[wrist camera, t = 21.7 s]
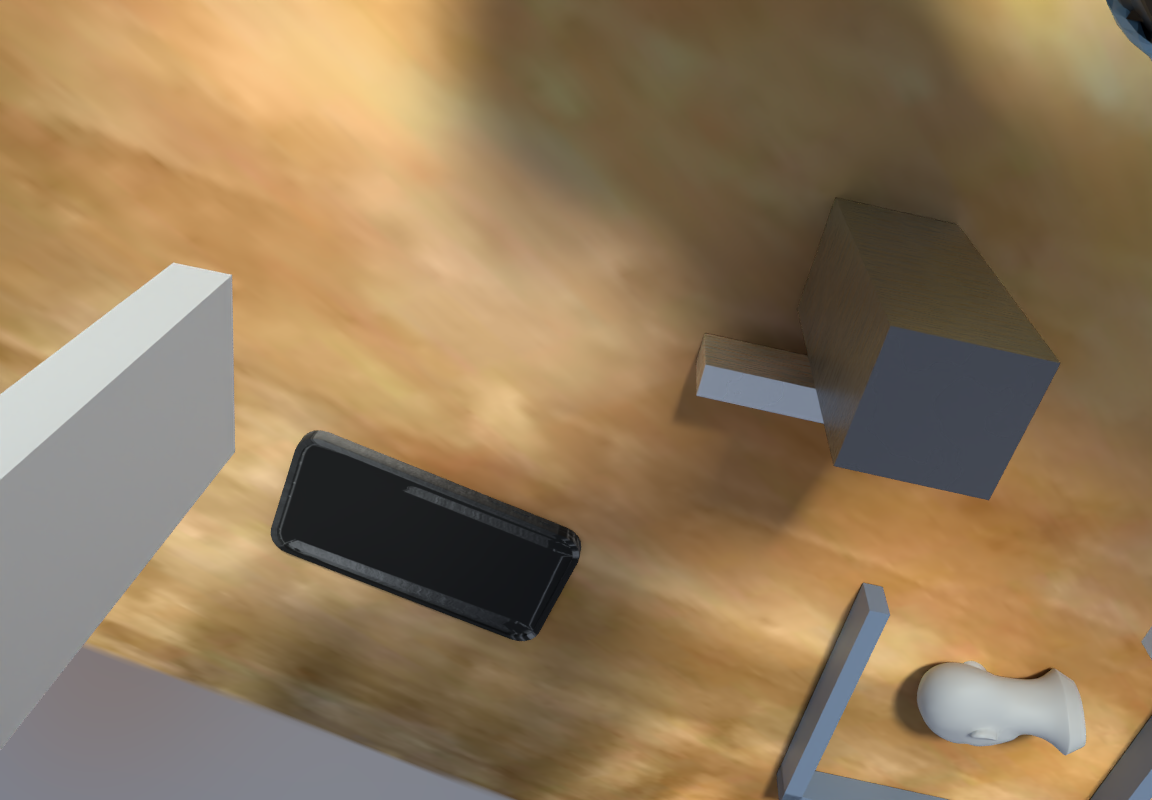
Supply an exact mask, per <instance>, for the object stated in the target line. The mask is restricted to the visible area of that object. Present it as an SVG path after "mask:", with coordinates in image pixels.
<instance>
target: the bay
mask: <svg viewBox="0 0 1152 800" xmlns="http://www.w3.org/2000/svg"><path fill="white" fill-rule="evenodd" d="M889 616H890V613H889V609H888V605H887V601H886V597H885V594H884V590H883V587H881V586H876V585H871V584H867V583H863V584H862V586H861V589H860V591H859V593H858V595H857V598H856V600H855V602H854V604H853V606H852V609H851V611H850V613H849V615H848V617H847V620H846V622H845V624H844V626H843V629H842V631H841V633H840V635H839V637H838V640H837V642H836V644H835V646H834V649H833V651H832V653H831V655H830V657H829V660H828V662H827V664H826V666H825V668H824V671H823V673H822V675H821V677H820V680H819V682H818V684H817V686H816V688H815V691H814V693H813V695H812V697H811V700H810V702H809V704H808V706H807V708H806V711H805V713H804V715H803V717H802V720H801V722H800V724H799V726H798V728H797V731H796V733H795V735H794V737H793V739H792V742H791V744H790V746H789V748H788V751H787V753H786V755H785V757H784V759H783V762H782V764H781V766H780V768H779V771H778V773H777V785H778V795H779V800H948V799H943V798H939V797H934V796H930V795H925V794H920V793H916V792H911V791H906V790H902V789H897V788H892V787H888V786H883V785H878V784H874V783H869V782H865V781H860V780H855V779H851V778H846V777H841V776H837V775H832V774H827V773H823V772H818V771H815V770H816V767H817V765H818V763H819V761H820V759H821V757H822V755H823V753H824V751H825V749H826V747H827V745H828V743H829V740H830V738H831V736H832V734H833V732H834V730H835V728H836V726H837V724H838V722H839V720H840V718H841V716H842V714H843V711H844V709H845V707H846V705H847V703H848V701H849V699H850V697H851V695H852V693H853V691H854V689H855V687H856V684H857V682H858V680H859V678H860V676H861V674H862V672H863V670H864V668H865V666H866V664H867V662H868V660H869V657H870V655H871V653H872V651H873V649H874V647H875V645H876V643H877V641H878V639H879V637H880V635H881V633H882V630H883V628H884V626H885V624H886V622H887V620H888V618H889ZM1151 798H1152V716H1151V718H1150V719H1149V720H1148V722H1147V723H1146V724H1145V726H1144V727H1143V729H1142V730H1141V731H1140V733H1139V734H1138V735H1137V737H1136V738H1135V739H1134V741H1133V742H1132V744H1131V745H1130V746H1129V748H1128V749H1127V750H1126V752H1125V753H1124V754H1123V756H1122V757H1121V759H1120V760H1119V761H1118V763H1117V764H1116V765H1115V767H1114V768H1113V769H1112V771H1111V772H1110V774H1109V775H1108V776H1107V778H1106V779H1105V780H1104V782H1103V783H1102V784H1101V786H1100V787H1099V789H1098V790H1097V791H1096V793H1095V794H1094V795H1093V797H1092V798H1091V799H1090V800H1150V799H1151Z"/></svg>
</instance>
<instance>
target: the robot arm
mask: <svg viewBox="0 0 1152 800" xmlns="http://www.w3.org/2000/svg"><path fill="white" fill-rule="evenodd" d="M1106 1H1107V4H1108V6H1109V8H1110V10H1111V12H1112V15H1113V17H1114V19H1115V21H1116V23H1117V25H1118V26H1119V28H1120V29H1121V30H1122V32H1123V33H1124V34H1125V35H1126V37H1127V38H1128V39H1129V40H1130V42H1132V43H1133V44H1134V45H1135V46H1137V47H1138V48H1139V49H1140V50H1142V51H1143V52H1144V53H1145V54H1147V55H1148V56H1149V57H1150V59H1151V61H1152V0H1106ZM234 452H235V422H234V364H233V305H232V275H230V274H225V273H220V272H215V271H210V270H206V269H201V268H196V267H191V266H186V265H182V264H177V263H172V264H171V265H170V266H168V267H167V268H166V269H164V270H163V271H162V272H161V273H159V274H158V275H157V276H155V277H154V278H153V279H151V280H150V281H149V282H147V283H146V284H145V285H143V286H142V287H141V288H140V289H138V290H137V291H136V292H134V293H133V294H132V295H130V296H129V297H128V298H126V299H125V300H124V301H122V302H121V303H120V304H118V305H117V306H116V307H115V308H113V309H112V310H111V311H109V312H108V313H107V314H105V315H104V316H103V317H101V318H100V319H99V320H97V321H96V322H95V323H93V324H92V325H91V326H90V327H88V328H87V329H86V330H84V331H83V332H82V333H80V334H79V335H78V336H76V337H75V338H74V339H72V340H71V341H70V342H69V343H67V344H66V345H65V346H63V347H62V348H61V349H59V350H58V351H57V352H55V353H54V354H53V355H51V356H50V357H49V358H47V359H46V360H45V361H44V362H42V363H41V364H40V365H38V366H37V367H36V368H34V369H33V370H32V371H30V372H29V373H28V374H26V375H25V376H24V377H23V378H21V379H20V380H19V381H17V382H16V383H15V384H13V385H12V386H11V387H9V388H8V389H7V390H5V391H4V392H3V393H1V394H0V750H1V749H2V748H3V746H4V745H5V744H6V743H7V741H8V740H9V739H10V737H11V736H12V735H13V734H14V732H15V731H16V730H17V729H18V727H19V726H20V725H21V724H22V722H23V721H24V720H25V719H26V717H27V716H28V715H29V713H30V712H31V711H32V710H33V708H34V707H35V706H36V705H37V703H38V702H39V701H40V699H41V698H42V697H43V696H44V694H45V693H46V692H47V690H48V689H49V688H50V687H51V685H52V684H53V683H54V682H55V680H56V679H57V678H58V676H59V675H60V674H61V673H62V671H63V670H64V669H65V668H66V666H67V665H68V664H69V662H70V661H71V660H72V659H73V657H74V656H75V654H76V653H77V652H78V651H79V650H80V648H81V647H82V646H83V645H84V643H85V642H86V641H87V640H88V638H89V637H90V636H91V634H92V633H93V632H94V631H95V629H96V628H97V627H98V626H99V624H100V623H101V622H102V620H103V619H104V618H105V617H106V615H107V614H108V613H109V612H110V610H111V609H112V608H113V606H114V605H115V604H116V603H117V601H118V600H119V599H120V598H121V596H122V595H123V594H124V592H125V591H126V590H127V589H128V587H129V586H130V585H131V584H132V582H133V581H134V580H135V578H136V577H137V576H138V575H139V573H140V572H141V571H142V569H143V568H144V567H145V566H146V564H147V563H148V562H149V561H150V559H151V558H152V557H153V555H154V554H155V553H156V552H157V550H158V549H159V548H160V547H161V545H162V544H163V543H164V541H165V540H166V539H167V538H168V536H169V535H170V534H171V533H172V531H173V530H174V529H175V527H176V526H177V525H178V524H179V522H180V521H181V520H182V519H183V517H184V516H185V515H186V513H187V512H188V511H189V510H190V508H191V507H192V506H193V505H194V503H195V502H196V501H197V499H198V498H199V497H200V496H201V494H202V493H203V492H204V491H205V489H206V488H207V487H208V485H209V484H210V483H211V482H212V480H213V479H214V478H215V477H216V475H217V474H218V473H219V471H220V470H221V469H222V468H223V466H224V465H225V464H226V463H227V461H228V460H229V459H230V457H231V456H232V455H233V454H234ZM1142 644H1143V646H1144V647H1145V649H1146V651H1147V653H1148V654H1149V656H1150V658H1151V659H1152V627H1151V628H1150V630H1149V631H1148V633H1147V634H1146V636H1145V637H1144V639H1143V640H1142Z"/></svg>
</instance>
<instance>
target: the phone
mask: <svg viewBox="0 0 1152 800" xmlns="http://www.w3.org/2000/svg"><path fill="white" fill-rule="evenodd" d="M271 537H272V540H273V542H274V543H275V545H276V546H277V547H279V548H280V549H281V550H283V551H285V552H287V553H289V554H291V555H294V556H297V557H299V558H302V559H304V560H307V561H310V562H312V563H315V564H317V565H320V566H323V567H325V568H328V569H330V570H333V571H336V572H338V573H341V574H343V575H346V576H349V577H351V578H354V579H356V580H359V581H361V582H364V583H367V584H369V585H372V586H374V587H377V588H380V589H382V590H385V591H387V592H390V593H393V594H395V595H398V596H400V597H403V598H406V599H408V600H411V601H413V602H416V603H419V604H421V605H424V606H426V607H429V608H432V609H434V610H437V611H439V612H442V613H445V614H447V615H450V616H452V617H455V618H457V619H460V620H463V621H465V622H468V623H470V624H473V625H476V626H478V627H481V628H483V629H486V630H489V631H491V632H494V633H496V634H499V635H502V636H504V637H507V638H509V639H512V640H516V641H527V640H531V639H532V638H534V637H536V636H537V634H538V633H539V632H540V630H541V628H542V626H543V624H544V623H545V621H546V619H547V617H548V615H549V613H550V612H551V610H552V608H553V606H554V604H555V603H556V601H557V599H558V597H559V595H560V594H561V592H562V590H563V588H564V586H565V584H566V583H567V581H568V579H569V577H570V575H571V574H572V572H573V570H574V568H575V566H576V565H577V563H578V560H579V557H580V551H581V541H580V539H579V537H578V536H577V535H576V534H575V533H574V532H573V531H572V530H570V529H568V528H566V527H564V526H561V525H559V524H556V523H554V522H551V521H549V520H546V519H544V518H541V517H539V516H536V515H534V514H531V513H529V512H526V511H524V510H521V509H519V508H516V507H514V506H511V505H509V504H506V503H504V502H501V501H499V500H496V499H494V498H491V497H489V496H486V495H484V494H481V493H479V492H476V491H474V490H471V489H469V488H466V487H464V486H461V485H459V484H456V483H454V482H451V481H449V480H446V479H444V478H441V477H439V476H436V475H434V474H431V473H429V472H426V471H424V470H421V469H419V468H416V467H414V466H411V465H409V464H406V463H404V462H401V461H399V460H396V459H394V458H391V457H389V456H386V455H384V454H381V453H379V452H376V451H374V450H371V449H369V448H366V447H364V446H361V445H359V444H356V443H354V442H351V441H349V440H347V439H344V438H342V437H339V436H337V435H334V434H332V433H329V432H325V431H312V432H309V433H307V434H306V435H305V436H304V437H303V438H302V440H301V441H300V443H299V444H298V446H297V448H296V449H295V452H294V456H293V459H292V462H291V465H290V469H289V472H288V475H287V479H286V482H285V485H284V488H283V492H282V495H281V498H280V501H279V505H278V508H277V511H276V515H275V518H274V521H273V524H272V528H271Z"/></svg>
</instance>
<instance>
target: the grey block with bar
mask: <svg viewBox="0 0 1152 800" xmlns="http://www.w3.org/2000/svg"><path fill="white" fill-rule="evenodd" d="M797 311H798V315H799V320H800V324H801V328H802V333H803V337H804V341H805V345H806V350H807V354H808V356H807V355H803V354H798V353H794V352H789V351H785V350H780V349H776V348H771V347H767V346H762V345H757V344H753V343H748V342H744V341H739V340H735V339H730V338H726V337H721V336H717V335H712V334H708V333H705V334H704V337H703V341H702V344H701V348H700V351H699V355H698V358H697V361H696V396H701V397H705V398H710V399H714V400H719V401H723V402H728V403H732V404H737V405H741V406H746V407H751V408H755V409H760V410H764V411H769V412H773V413H778V414H782V415H787V416H791V417H796V418H800V419H805V420H809V421H814V422H819V423H823V424H824V426H825V431H826V435H827V439H828V443H829V448H830V452H831V456H832V460H833V465H834V466H836V467H841V468H845V469H850V470H854V471H859V472H863V473H868V474H872V475H877V476H882V477H886V478H891V479H895V480H900V481H904V482H909V483H913V484H918V485H922V486H927V487H931V488H936V489H941V490H945V491H950V492H954V493H959V494H963V495H968V496H972V497H977V498H981V499H986V500H989V499H990V497H991V495H992V493H993V491H994V490H995V488H996V486H997V484H998V482H999V480H1000V478H1001V476H1002V474H1003V472H1004V470H1005V469H1006V467H1007V465H1008V463H1009V461H1010V459H1011V457H1012V455H1013V453H1014V451H1015V449H1016V447H1017V446H1018V444H1019V442H1020V440H1021V438H1022V436H1023V434H1024V432H1025V430H1026V428H1027V426H1028V424H1029V423H1030V421H1031V419H1032V417H1033V415H1034V413H1035V411H1036V409H1037V407H1038V405H1039V403H1040V402H1041V400H1042V398H1043V396H1044V394H1045V392H1046V390H1047V388H1048V386H1049V384H1050V382H1051V380H1052V379H1053V377H1054V375H1055V373H1056V371H1057V369H1058V367H1059V365H1060V362H1059V361H1058V359H1057V358H1056V356H1055V355H1054V354H1053V352H1052V351H1051V350H1050V348H1049V347H1048V346H1047V344H1046V343H1045V342H1044V340H1043V339H1042V338H1041V336H1040V335H1039V334H1038V332H1037V331H1036V329H1035V328H1034V327H1033V325H1032V324H1031V323H1030V321H1029V320H1028V319H1027V317H1026V316H1025V315H1024V313H1023V312H1022V311H1021V309H1020V308H1019V306H1018V305H1017V304H1016V302H1015V301H1014V300H1013V298H1012V297H1011V296H1010V294H1009V293H1008V292H1007V290H1006V289H1005V288H1004V286H1003V285H1002V284H1001V282H1000V281H999V279H998V278H997V277H996V275H995V274H994V273H993V271H992V270H991V269H990V267H989V266H988V265H987V263H986V262H985V261H984V259H983V258H982V256H981V255H980V254H979V252H978V251H977V250H976V248H975V247H974V246H973V244H972V243H971V242H970V240H969V239H968V238H967V236H966V235H965V234H964V232H963V231H962V229H961V228H960V227H959V225H957V224H953V223H948V222H944V221H939V220H935V219H930V218H926V217H921V216H917V215H912V214H908V213H903V212H898V211H894V210H889V209H885V208H880V207H876V206H871V205H867V204H862V203H858V202H853V201H849V200H844V199H840V198H835V200H834V203H833V206H832V209H831V212H830V215H829V218H828V221H827V224H826V227H825V230H824V232H823V235H822V238H821V241H820V244H819V247H818V250H817V253H816V256H815V259H814V262H813V264H812V267H811V270H810V273H809V276H808V279H807V282H806V285H805V288H804V291H803V294H802V296H801V299H800V302H799V305H798V308H797Z"/></svg>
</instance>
